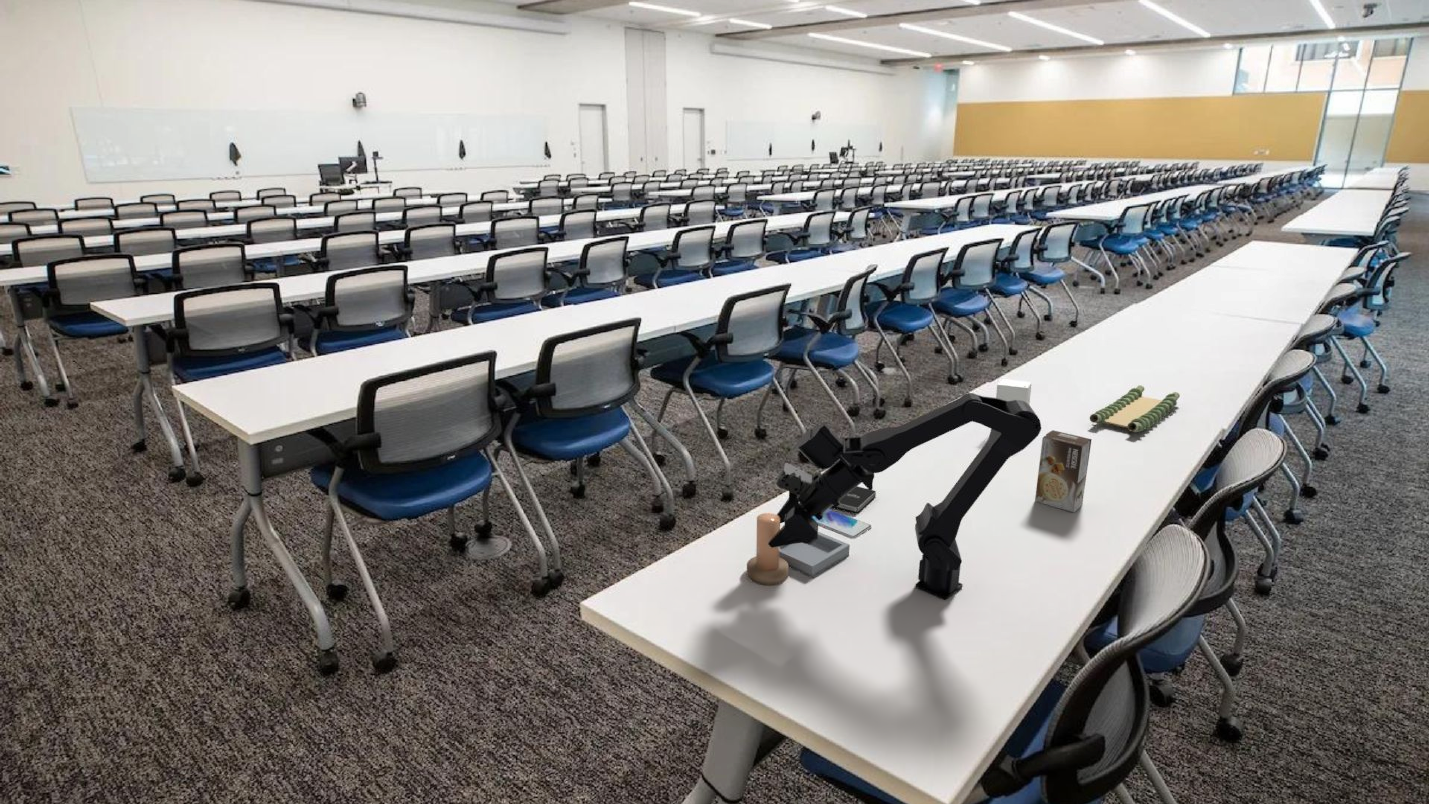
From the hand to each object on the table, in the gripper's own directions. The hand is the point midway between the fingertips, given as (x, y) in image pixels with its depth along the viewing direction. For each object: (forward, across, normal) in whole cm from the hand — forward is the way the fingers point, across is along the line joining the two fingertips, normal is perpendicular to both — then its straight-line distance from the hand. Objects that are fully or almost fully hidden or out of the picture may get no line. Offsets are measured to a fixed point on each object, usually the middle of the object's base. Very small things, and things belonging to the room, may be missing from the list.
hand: (771, 533), depth 150 cm
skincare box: (-36, -86, +49) cm, 105 cm away
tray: (+2, -8, +11) cm, 14 cm away
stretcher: (-65, -107, +77) cm, 147 cm away
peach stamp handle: (+5, 0, +4) cm, 7 cm away
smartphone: (-2, -24, +15) cm, 29 cm away
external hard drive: (-5, -35, +18) cm, 39 cm away
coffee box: (-38, -42, +50) cm, 76 cm away
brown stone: (+7, 0, +6) cm, 9 cm away
